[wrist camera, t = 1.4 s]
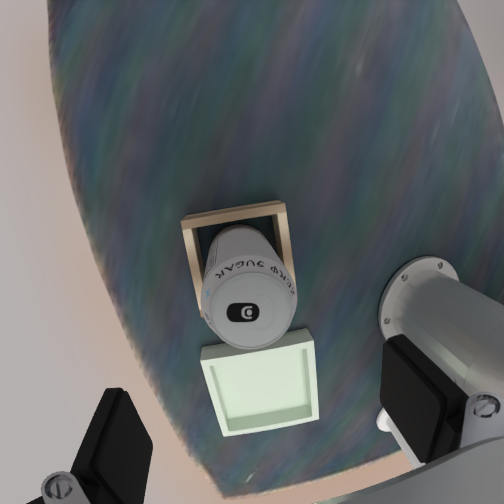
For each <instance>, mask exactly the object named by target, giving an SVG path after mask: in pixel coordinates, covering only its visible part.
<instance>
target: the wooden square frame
mask: <svg viewBox="0 0 504 504" xmlns="http://www.w3.org/2000/svg"><path fill="white" fill-rule="evenodd" d="M266 215H272V220H273V227H274V234H275V241H276V248H277V255H278V257H279V259H280V260H281V262H282V263H283V265H284V266H285V268H286V269H287V271H288V272H289V274H290V275H291V277H292V279H293V281H294V283H295V275H294V267H293V259H292V251H291V243H290V236H289V228H288V221H287V214H286V207H285V203H283V202H281V201H279V200H274V201H268V202H262V203H256V204H249V205H243V206H238V207H232V208H226V209H220V210H214V211H209V212H203V213H198V214H192V215H187V216H185V217H184V218H183V219H182V220H181V226H182V231H183V236H184V241H185V246H186V250H187V255H188V260H189V265H190V269H191V274H192V279H193V283H194V288H195V292H196V296H197V301H198V305H199V309H200V313H201V317H204V316H203V313H202V310H201V303H200V300H201V290H202V285H203V280H204V275H205V269H204V264H203V259H202V254H201V249H200V244H199V239H198V233H197V228H196V227H202V226H207V225H213V224H219V223H224V222H230V221H236V220H242V219H248V218H254V217H260V216H266ZM295 286H296V283H295Z"/></svg>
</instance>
